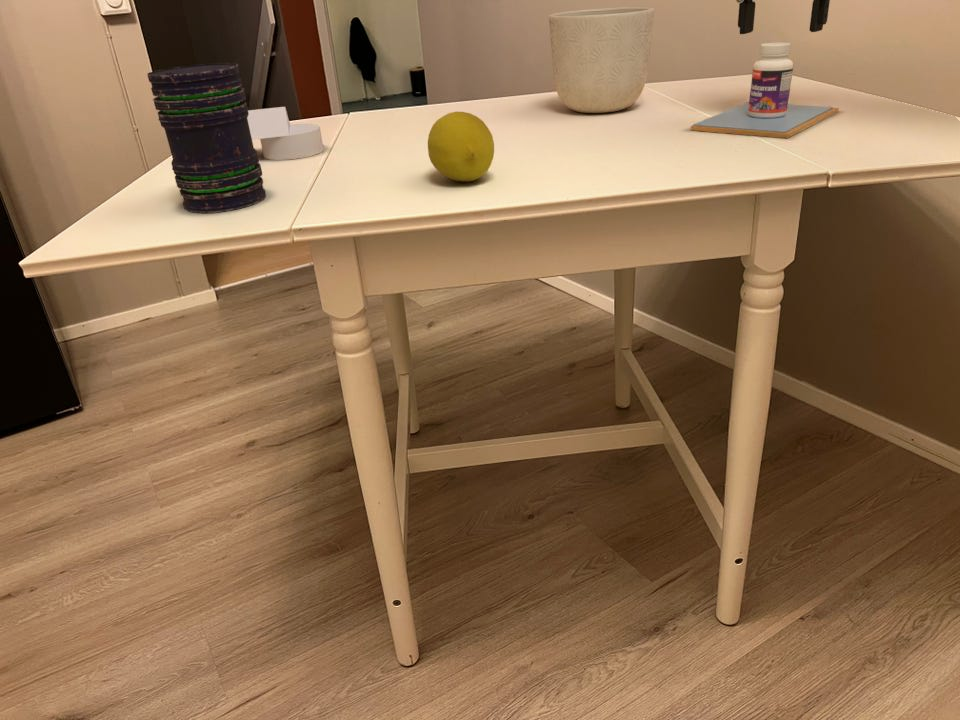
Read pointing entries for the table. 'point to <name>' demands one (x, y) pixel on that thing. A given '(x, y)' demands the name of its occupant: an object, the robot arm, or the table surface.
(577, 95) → the planter
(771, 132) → the board
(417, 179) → the table surface
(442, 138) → the lemon
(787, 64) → the pill bottle
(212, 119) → the storage jar
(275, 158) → the wedge on round base
